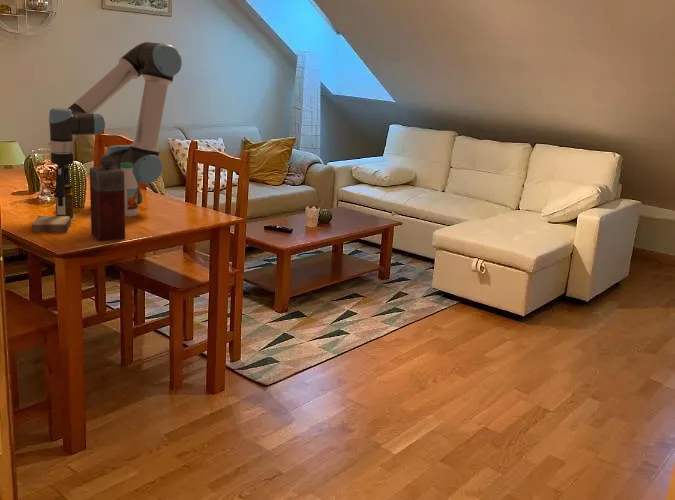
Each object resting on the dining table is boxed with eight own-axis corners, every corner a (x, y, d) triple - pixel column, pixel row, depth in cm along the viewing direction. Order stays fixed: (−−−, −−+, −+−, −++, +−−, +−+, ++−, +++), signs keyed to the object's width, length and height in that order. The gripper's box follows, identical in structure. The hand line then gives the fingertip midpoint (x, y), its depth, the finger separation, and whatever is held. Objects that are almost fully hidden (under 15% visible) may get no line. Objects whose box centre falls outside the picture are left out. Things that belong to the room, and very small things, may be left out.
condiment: (75, 214, 260) (73, 183, 257) (75, 220, 253) (73, 188, 250) (54, 215, 258) (52, 183, 255) (53, 220, 250) (52, 188, 247)
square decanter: (115, 230, 244) (113, 151, 236) (125, 238, 235) (124, 156, 227) (89, 232, 239) (86, 151, 231) (98, 241, 230) (96, 157, 222)
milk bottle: (119, 217, 261) (118, 165, 255) (114, 212, 267) (113, 161, 262) (140, 216, 265) (139, 164, 259) (134, 211, 271) (134, 161, 266)
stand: (71, 224, 247) (70, 216, 247) (66, 232, 237) (66, 224, 236) (38, 224, 245) (37, 215, 244) (32, 232, 235) (31, 223, 234)
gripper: (56, 146, 259) (58, 202, 265) (44, 157, 236) (47, 218, 242) (77, 147, 261) (79, 202, 267) (68, 158, 238) (70, 218, 244)
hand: (63, 210), depth 255 cm, fingers open, 13 cm apart
